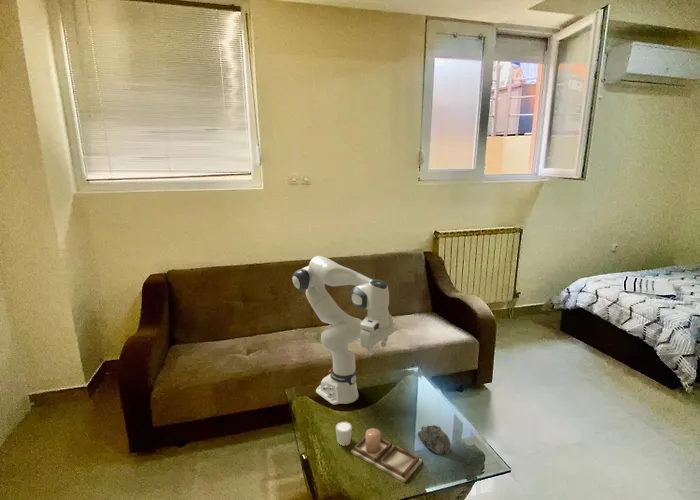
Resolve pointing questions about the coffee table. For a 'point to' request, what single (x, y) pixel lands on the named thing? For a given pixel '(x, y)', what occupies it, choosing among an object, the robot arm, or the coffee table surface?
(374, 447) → the tan rounded cylinder
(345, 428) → the white cylinder
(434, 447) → the mineral rock
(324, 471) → the coffee table surface
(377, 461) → the divided wooden tray
